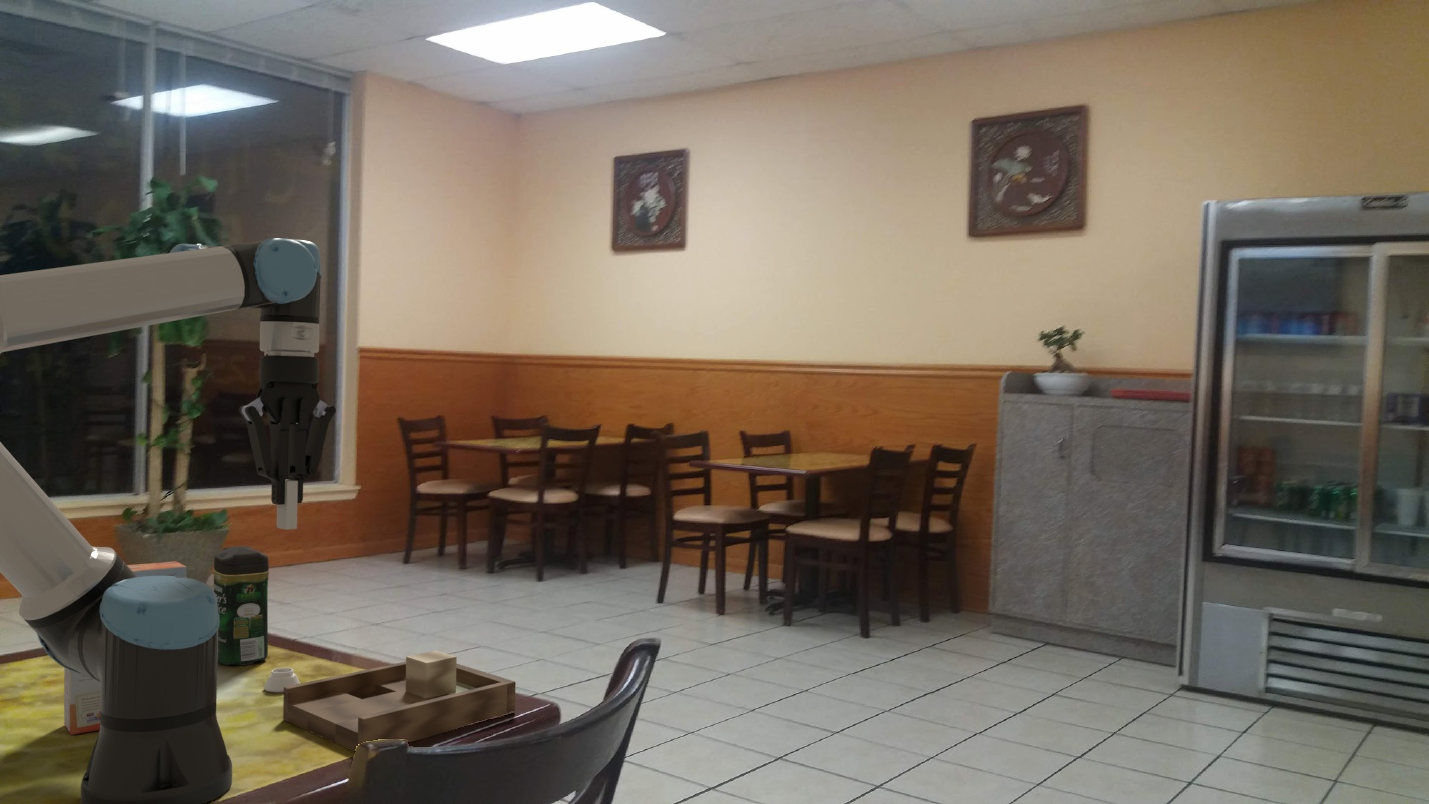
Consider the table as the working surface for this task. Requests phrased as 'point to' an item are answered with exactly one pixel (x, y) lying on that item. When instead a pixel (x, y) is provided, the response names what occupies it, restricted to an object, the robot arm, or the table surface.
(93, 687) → the cracker box
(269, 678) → the white tapered collar
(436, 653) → the maple cube
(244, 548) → the coffee jar
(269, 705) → the table surface
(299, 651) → the table surface
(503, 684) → the box
